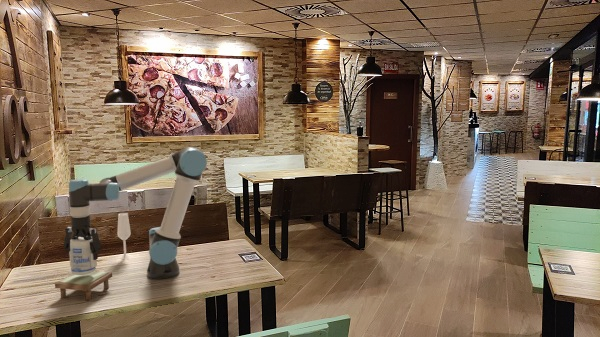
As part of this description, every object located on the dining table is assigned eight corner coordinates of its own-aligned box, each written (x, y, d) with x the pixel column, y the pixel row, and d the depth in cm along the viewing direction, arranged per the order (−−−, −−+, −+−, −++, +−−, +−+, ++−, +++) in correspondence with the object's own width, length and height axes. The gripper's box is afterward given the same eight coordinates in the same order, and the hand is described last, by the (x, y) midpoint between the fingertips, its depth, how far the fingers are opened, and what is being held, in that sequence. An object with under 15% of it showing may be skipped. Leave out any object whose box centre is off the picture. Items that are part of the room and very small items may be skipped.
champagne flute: (132, 254, 241) (130, 212, 238) (131, 258, 235) (129, 215, 231) (119, 255, 239) (116, 213, 236) (118, 259, 232) (115, 216, 229)
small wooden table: (113, 287, 196) (112, 271, 195) (89, 302, 181) (88, 285, 180) (81, 284, 199) (80, 269, 198) (56, 299, 184) (54, 282, 183)
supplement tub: (72, 277, 182) (70, 243, 180) (70, 270, 190) (68, 238, 188) (97, 272, 187) (96, 239, 186) (94, 266, 195) (92, 234, 193)
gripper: (109, 214, 187) (111, 264, 190) (63, 212, 191) (67, 261, 194) (98, 218, 180) (101, 270, 183) (51, 216, 184) (54, 267, 187)
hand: (83, 265), depth 188 cm, fingers closed on supplement tub, 9 cm apart
